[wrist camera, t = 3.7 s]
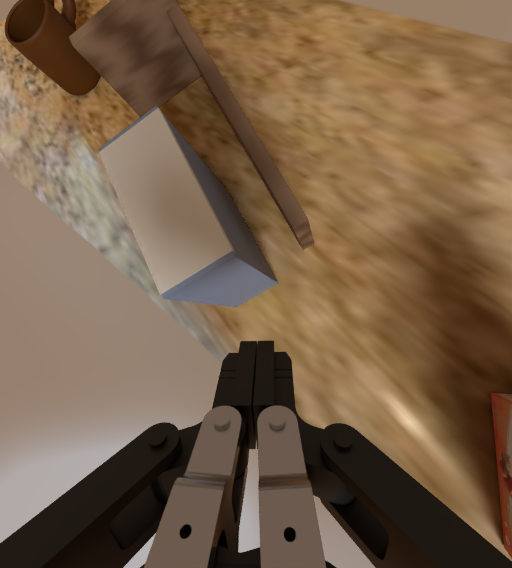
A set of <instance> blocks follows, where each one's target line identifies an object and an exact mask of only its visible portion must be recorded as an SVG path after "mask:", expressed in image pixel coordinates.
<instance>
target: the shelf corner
mask: <svg viewBox="0 0 512 568" xmlns="http://www.w3.org/2000/svg"><path fill="white" fill-rule="evenodd" d="M69 38H70V41H71V43H72V45H73V47H74V48H75V49H76V50H77V51H78V52H79V53H80V54H81V55H82V56H83V57H84V58H85V59H86V60H87V61H88V62H89V63H90V64H91V66H92V67H93V68H94V69H95V70H96V71H97V72H98V73H99V74H100V75H101V76H102V77H103V78H104V79H105V80H106V81H107V82H108V83H109V84H110V85H111V86H112V87H113V88H114V89H115V91H116V92H117V93H118V94H119V95H120V96H121V97H122V98H123V99H124V100H125V101H126V102H127V103H128V104H129V105H130V106H131V107H132V108H133V109H134V110H135V111H136V112H137V113H138V114H139V116H140V117H142V116H143V115H144V114H146V113H147V112H148V111H150V110H151V109H152V108H154V107H155V106H156V105H157V106H158V107H160V106H161V105H163V104H164V103H165V102H167V101H168V100H169V99H171V98H172V97H173V96H175V95H176V94H177V93H179V92H180V91H181V90H183V89H184V88H185V87H187V86H188V85H189V84H191V83H192V82H193V81H195V80H196V79H197V78H199V77H200V76H202V77H203V79H204V81H205V82H206V84H207V86H208V88H209V89H210V91H211V93H212V94H213V96H214V98H215V100H216V101H217V103H218V105H219V106H220V108H221V110H222V112H223V113H224V115H225V117H226V118H227V120H228V122H229V124H230V125H231V127H232V129H233V130H234V132H235V134H236V136H237V137H238V139H239V141H240V143H241V144H242V146H243V148H244V149H245V151H246V153H247V155H248V156H249V158H250V160H251V161H252V163H253V165H254V167H255V168H256V170H257V172H258V173H259V175H260V177H261V179H262V180H263V182H264V184H265V185H266V187H267V189H268V191H269V192H270V194H271V196H272V197H273V199H274V201H275V203H276V204H277V206H278V208H279V209H280V211H281V213H282V215H283V216H284V218H285V220H286V221H287V223H288V225H289V227H290V228H291V230H292V232H293V233H294V235H295V237H296V239H297V240H298V242H299V244H300V245H301V247H302V249H303V250H304V249H306V248H308V247H309V246H311V245H313V244H314V240H313V236H312V233H311V229H310V225H309V221H308V218H307V216H306V215H305V213H304V211H303V210H302V208H301V207H300V205H299V203H298V202H297V200H296V198H295V197H294V195H293V193H292V192H291V190H290V188H289V187H288V185H287V183H286V182H285V180H284V178H283V177H282V175H281V173H280V172H279V170H278V168H277V167H276V165H275V164H274V162H273V160H272V159H271V157H270V155H269V154H268V152H267V150H266V149H265V147H264V145H263V144H262V142H261V140H260V139H259V137H258V135H257V134H256V132H255V130H254V129H253V127H252V125H251V124H250V122H249V121H248V119H247V117H246V116H245V114H244V112H243V111H242V109H241V107H240V106H239V104H238V102H237V101H236V99H235V97H234V96H233V94H232V92H231V91H230V89H229V87H228V86H227V84H226V82H225V81H224V79H223V78H222V76H221V74H220V73H219V71H218V69H217V68H216V66H215V64H214V63H213V61H212V59H211V58H210V56H209V54H208V53H207V51H206V49H205V48H204V46H203V44H202V43H201V41H200V39H199V38H198V36H197V35H196V33H195V31H194V30H193V28H192V26H191V25H190V23H189V21H188V20H187V18H186V16H185V15H184V13H183V11H182V10H181V8H180V6H179V5H178V3H177V1H176V0H111V1H110V2H109V3H108V4H107V5H106V6H104V7H103V8H102V9H101V10H100V11H99V12H97V13H96V14H95V15H94V16H93V17H92V18H90V19H89V20H88V21H87V22H86V23H85V24H83V25H82V26H81V27H80V28H79V29H78V30H76V31H75V32H74V33H73V34H72V35H71V36H69Z"/></svg>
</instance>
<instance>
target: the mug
mask: <svg viewBox="0 0 512 568" xmlns="http://www.w3.org/2000/svg"><path fill="white" fill-rule="evenodd" d="M62 2H63V9H62V13H61V14H60V13H59V12H58V11H57V10H56V9H55V8H54V0H19V1H18V2H17V3H16V4H15V5H14V6H13V7H12V9H11V11H10V12H9V14H8V16H7V19H6V23H5V35H6V37H7V39H8V41H9V42H10V43H11V44H12V45H13V46H14V47H15V48H16V49H17V50H18V51H19V52H20V53H22V54H23V55H24V56H25V57H26V58H27V59H28V60H30V61H31V62H32V63H33V64H34V65H35V66H37V67H38V68H39V69H40V70H41V71H43V72H44V73H45V74H46V75H47V76H48V77H50V78H51V79H52V80H53V81H55V82H56V83H57V84H58V85H59V86H60V87H62V88H63V89H64V90H65V91H67V92H68V93H70V94H72V95H83V94H86V93H88V92H89V91H91V90H92V89H93V88H94V87H95V85H96V84H97V82H98V81H99V78H100V74H99V73H98V72H97V71H96V70H95V69H94V68H93V67H92V66H91V64H90V63H89V62H88V61H87V60H86V59H85V58H84V57H83V56H82V55H81V54H80V53H79V52H78V51H77V50H76V49H75V48H74V47H73V45H72V43H71V41H70V38H69V36H71V35H72V34H73V33H74V32H75V31H76V25H75V18H76V5H75V1H74V0H62Z"/></svg>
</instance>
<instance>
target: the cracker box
mask: <svg viewBox="0 0 512 568" xmlns="http://www.w3.org/2000/svg"><path fill="white" fill-rule="evenodd" d="M490 395H491V403H492V414H493V425H494V434H495V447H496V459H497V470H498V481H499V492H500V504H501V516H502V528H503V539H504V548H505V549H506V551H507V552H508V553H509V555H510V556H511V558H512V394H501V393H491V394H490Z"/></svg>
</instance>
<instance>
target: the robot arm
mask: <svg viewBox="0 0 512 568" xmlns="http://www.w3.org/2000/svg"><path fill="white" fill-rule="evenodd" d="M256 441H257V449H258V456H259V457H258V459H259V520H260V548H256V549H253V550H250V551H247V552H242V553H238V542H239V538H238V537H239V525H240V517H241V511H242V505H243V498H244V491H245V483H246V477H247V469H248V468H247V465H248V457H249V449H255V448H256ZM313 495H315V496H317V497H319V498H320V500H321V502H322V503H323V505H324V506H325V507H326V509H327V510H328V511H329V512H330V513H331V515H332V516H333V517H334V518H335V519H336V521H337V522H338V523H339V524H340V525H341V527H342V528H343V529H344V530H345V531H346V533H347V534H348V535H349V536H350V537H351V538H352V540H353V541H354V542H355V543H356V544H357V546H358V547H359V548H360V549H361V551H362V552H363V553H364V554H365V555H366V556H367V558H368V559H369V560H370V561H371V563H372V564H373V565H374V566H375V567H376V568H512V561H510V560H509V559H508V558H507V557H506V556H505V555H503V554H502V553H501V552H500V551H499V550H497V549H496V548H495V547H494V546H493V545H492V544H490V543H489V542H488V541H487V540H486V539H484V538H483V537H482V536H481V535H480V534H479V533H477V532H476V531H475V530H474V529H473V528H472V527H470V526H469V525H468V524H467V523H466V522H464V521H463V520H462V519H461V518H460V517H459V516H457V515H456V514H455V513H454V512H453V511H451V510H450V509H449V508H448V507H447V506H446V505H444V504H443V503H442V502H441V501H440V500H438V499H437V498H436V497H435V496H434V495H433V494H431V493H430V492H429V491H428V490H427V489H425V488H424V487H423V486H422V485H421V484H420V483H418V482H417V481H416V480H415V479H414V478H412V477H411V476H410V475H409V474H408V473H407V472H405V471H404V470H403V469H402V468H401V467H399V466H398V465H397V464H396V463H395V462H394V461H392V460H391V459H390V458H389V457H388V456H386V455H385V454H384V453H383V452H382V451H381V450H379V449H378V448H377V447H376V446H375V445H373V444H372V443H371V442H370V441H369V440H368V439H366V438H365V437H364V436H363V435H362V434H361V433H359V432H358V431H357V430H356V429H354V428H353V427H351V426H349V425H346V424H341V423H336V424H331V425H329V426H327V427H326V428H325V429H321V428H317V427H314V426H311V425H309V424H307V423H306V422H304V421H303V420H302V419H301V418H300V417H299V416H298V414H297V412H296V408H295V398H294V386H293V374H292V362H291V359H290V357H289V356H288V354H287V353H286V352H274V341H258V344H257V341H241V342H240V348H239V353H229V354H228V355H227V356H226V358H225V359H224V360H223V362H222V367H221V372H220V376H219V380H218V385H217V390H216V394H215V398H214V403H213V407H212V410H211V411H209V412H208V413H207V414H206V415H205V417H204V419H203V421H202V422H200V423H199V424H197V425H195V426H192V427H188V428H185V429H182V430H178V429H177V427H176V426H174V425H173V424H171V423H159V424H156V425H153V426H151V427H150V428H148V429H147V430H146V431H144V432H143V433H142V434H140V435H139V436H138V437H137V438H135V439H134V440H133V441H131V442H130V443H129V444H128V445H126V446H125V447H124V448H123V449H121V450H120V451H119V452H117V453H116V454H115V455H113V456H112V457H111V458H110V459H108V460H107V461H106V462H104V463H103V464H102V465H101V466H99V467H98V468H97V469H95V470H94V471H93V472H92V473H90V474H89V475H88V476H86V477H85V478H84V479H83V480H81V481H80V482H79V483H77V484H76V485H75V486H74V487H72V488H71V489H70V490H68V491H67V492H66V493H65V494H63V495H62V496H61V497H59V498H58V499H57V500H56V501H54V502H53V503H52V504H50V505H49V506H48V507H47V508H45V509H44V510H43V511H41V512H40V513H39V514H38V515H36V516H35V517H34V518H32V519H31V520H30V521H29V522H27V523H26V524H25V525H23V526H22V527H21V528H20V529H18V530H17V531H16V532H14V533H13V534H12V535H11V536H9V537H8V538H7V539H5V540H4V541H3V542H2V543H0V568H123V567H124V566H125V565H126V564H127V563H128V562H129V561H130V560H131V558H132V557H133V556H134V555H135V554H136V553H137V552H138V551H139V550H140V549H141V548H142V547H143V546H144V545H145V544H146V543H147V542H148V540H149V539H150V538H151V537H152V536H153V535H154V534H155V533H156V535H155V538H154V541H153V544H152V547H151V549H150V552H149V555H148V558H147V561H146V563H145V564H144V565H143V566H141V567H140V568H336V567H335V566H333V565H332V564H331V563H329V562H327V561H325V558H324V553H323V547H322V542H321V536H320V531H319V525H318V520H317V514H316V509H315V503H314V499H313Z"/></svg>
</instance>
